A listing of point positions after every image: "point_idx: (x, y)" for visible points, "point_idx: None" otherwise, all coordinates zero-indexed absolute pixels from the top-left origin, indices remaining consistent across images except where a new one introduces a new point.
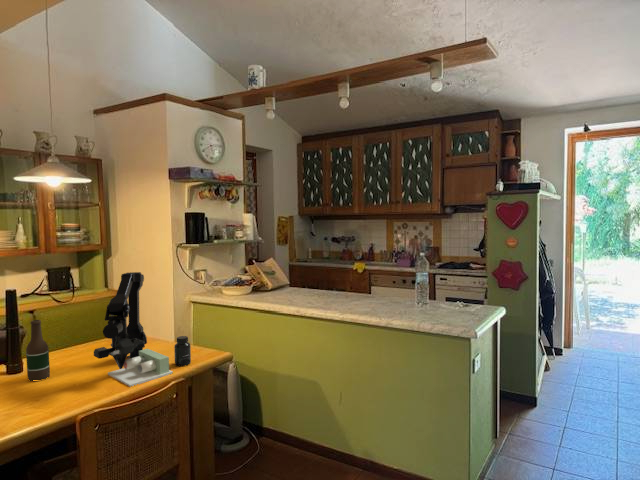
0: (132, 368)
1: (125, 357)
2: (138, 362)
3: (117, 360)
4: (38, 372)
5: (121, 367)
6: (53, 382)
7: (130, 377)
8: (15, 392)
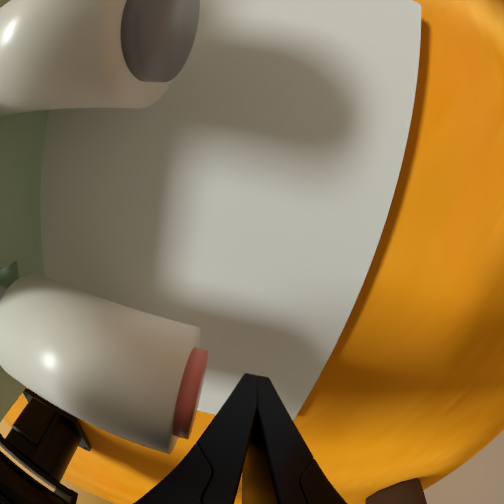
0: None
1: (171, 489)
2: (42, 295)
3: (328, 490)
4: (422, 499)
5: (256, 384)
6: (427, 458)
7: (291, 140)
8: (488, 439)
